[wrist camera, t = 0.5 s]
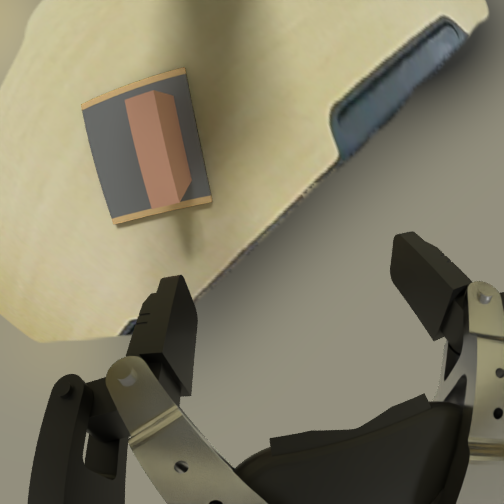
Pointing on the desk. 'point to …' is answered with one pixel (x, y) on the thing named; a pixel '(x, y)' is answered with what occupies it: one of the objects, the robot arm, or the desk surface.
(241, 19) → the desk surface
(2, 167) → the desk surface
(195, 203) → the mat
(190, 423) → the robot arm
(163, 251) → the desk surface
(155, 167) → the slab
